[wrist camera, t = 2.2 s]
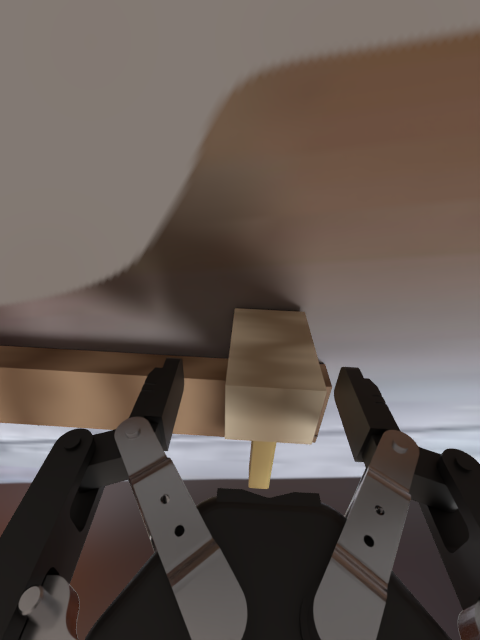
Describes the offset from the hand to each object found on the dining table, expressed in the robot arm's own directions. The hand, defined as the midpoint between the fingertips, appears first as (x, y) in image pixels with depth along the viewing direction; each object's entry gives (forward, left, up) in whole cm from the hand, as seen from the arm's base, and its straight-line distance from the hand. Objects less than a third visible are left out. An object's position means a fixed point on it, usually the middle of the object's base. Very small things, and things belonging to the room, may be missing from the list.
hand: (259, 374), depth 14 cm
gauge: (0, +3, -3) cm, 5 cm away
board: (+8, +5, -4) cm, 10 cm away
